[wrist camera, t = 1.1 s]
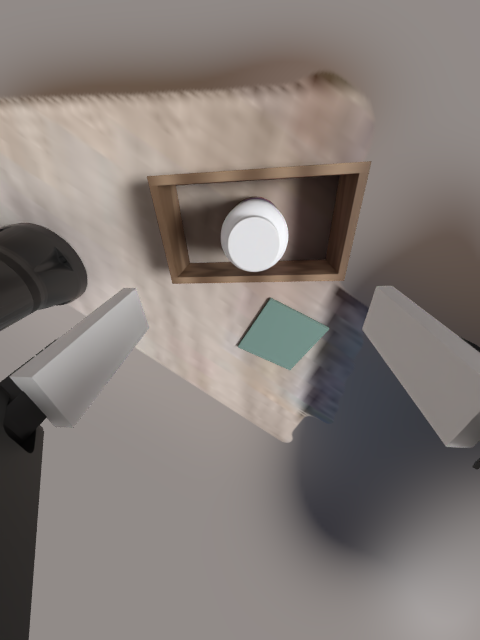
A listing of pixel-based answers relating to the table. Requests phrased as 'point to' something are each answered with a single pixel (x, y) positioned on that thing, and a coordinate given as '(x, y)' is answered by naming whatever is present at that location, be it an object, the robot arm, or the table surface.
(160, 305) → the table surface
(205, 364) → the table surface
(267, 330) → the mat
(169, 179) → the crate
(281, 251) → the pill bottle
